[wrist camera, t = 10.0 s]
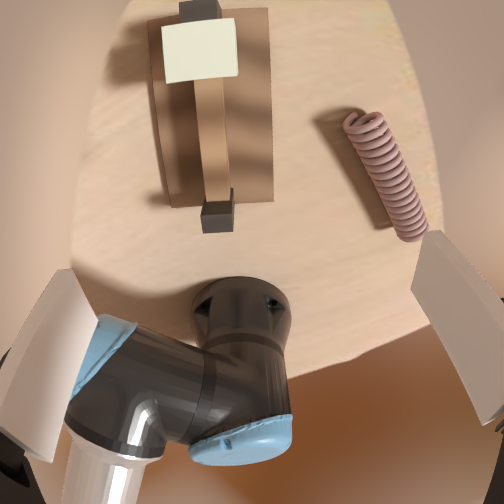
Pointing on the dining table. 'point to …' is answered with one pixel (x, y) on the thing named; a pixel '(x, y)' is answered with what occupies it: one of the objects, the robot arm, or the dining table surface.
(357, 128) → the coil
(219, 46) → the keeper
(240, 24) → the track
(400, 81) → the dining table surface
